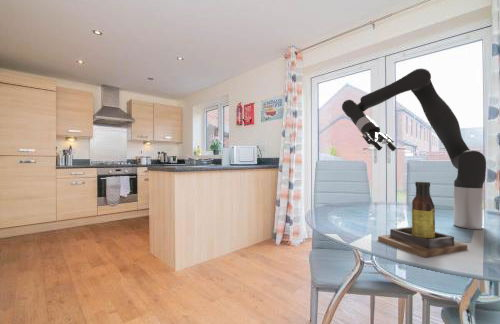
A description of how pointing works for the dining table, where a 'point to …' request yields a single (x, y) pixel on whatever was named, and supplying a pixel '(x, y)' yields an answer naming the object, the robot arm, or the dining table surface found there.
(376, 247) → the dining table surface
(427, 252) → the walnut dock board
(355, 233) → the dining table surface
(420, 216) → the sauce bottle
